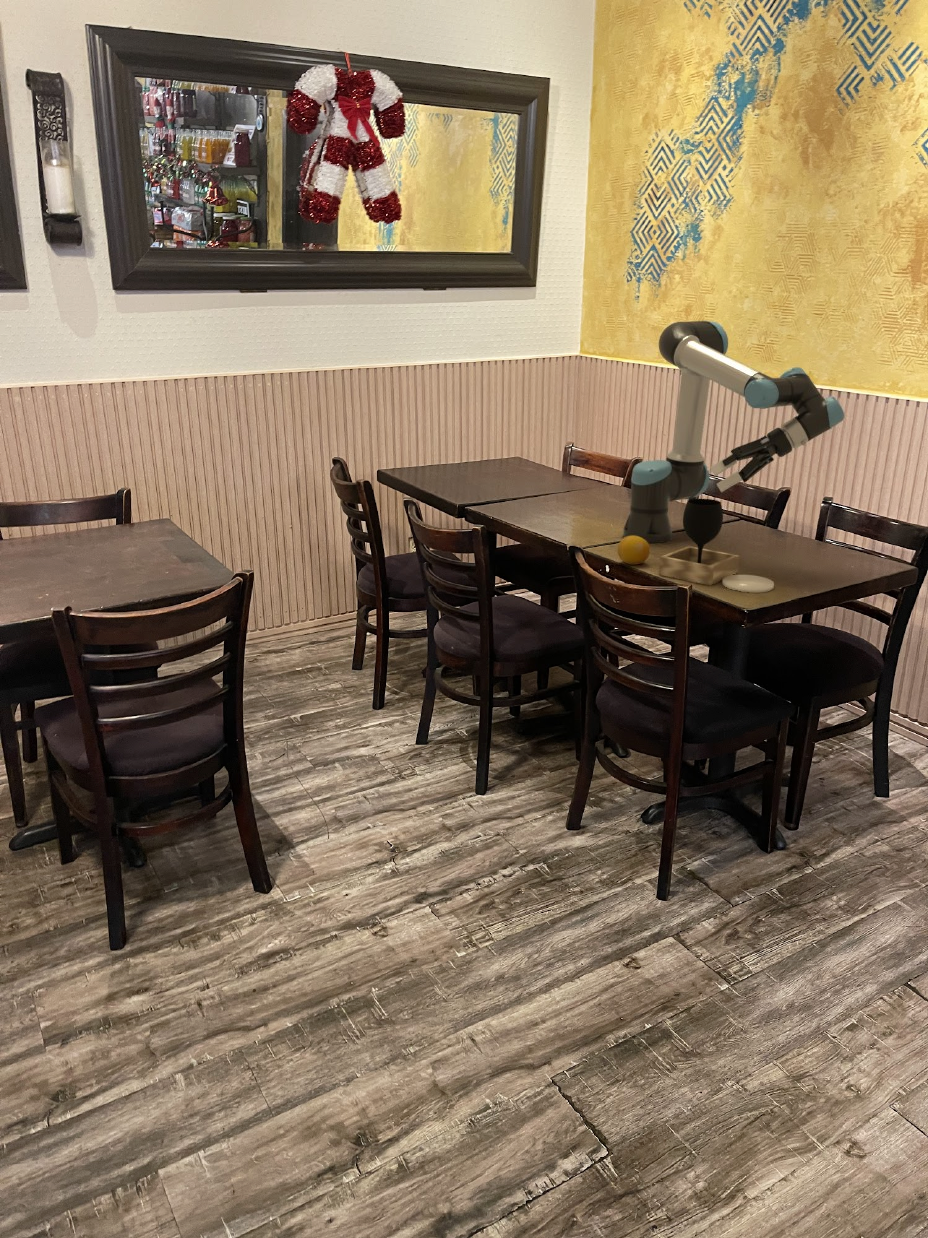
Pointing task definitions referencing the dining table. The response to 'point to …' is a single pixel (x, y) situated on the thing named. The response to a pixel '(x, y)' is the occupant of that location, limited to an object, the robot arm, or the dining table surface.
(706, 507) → the wine glass
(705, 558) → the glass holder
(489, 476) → the dining table surface
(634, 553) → the fruit
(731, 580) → the plate
